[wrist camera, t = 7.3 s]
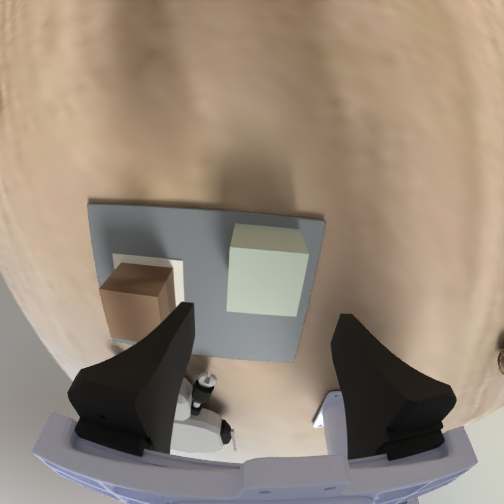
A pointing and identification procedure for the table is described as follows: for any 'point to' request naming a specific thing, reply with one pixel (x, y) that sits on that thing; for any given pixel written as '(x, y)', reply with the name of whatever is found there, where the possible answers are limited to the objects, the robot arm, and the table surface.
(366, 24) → the table surface
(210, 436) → the robot toy
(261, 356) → the board
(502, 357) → the ceramic sculpture
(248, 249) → the sage block
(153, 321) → the walnut block
